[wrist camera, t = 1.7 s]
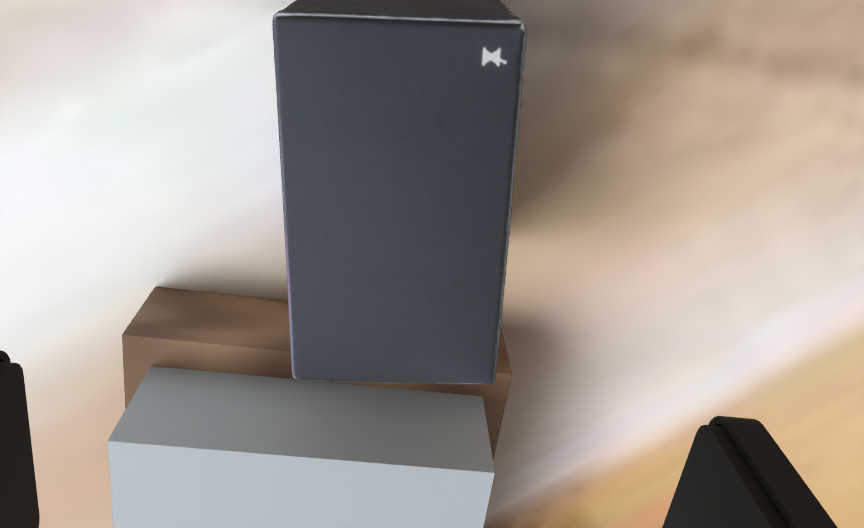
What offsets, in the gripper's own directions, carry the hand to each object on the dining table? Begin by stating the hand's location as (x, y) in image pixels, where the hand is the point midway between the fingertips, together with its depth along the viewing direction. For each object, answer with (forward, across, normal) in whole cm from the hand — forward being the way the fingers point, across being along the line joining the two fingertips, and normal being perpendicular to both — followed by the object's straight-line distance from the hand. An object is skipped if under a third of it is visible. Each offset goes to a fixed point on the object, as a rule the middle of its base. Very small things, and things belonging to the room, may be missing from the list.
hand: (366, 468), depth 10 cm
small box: (+20, -1, 0) cm, 20 cm away
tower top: (+16, +1, +16) cm, 23 cm away
